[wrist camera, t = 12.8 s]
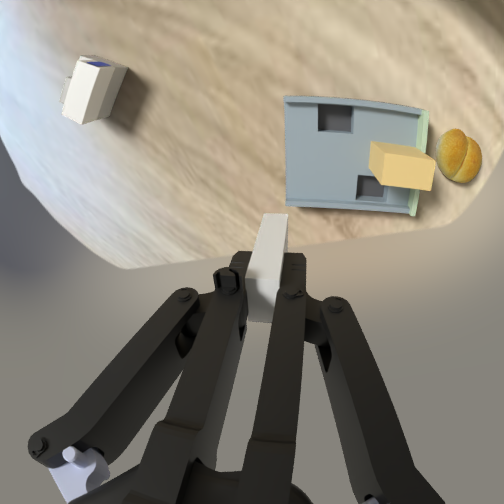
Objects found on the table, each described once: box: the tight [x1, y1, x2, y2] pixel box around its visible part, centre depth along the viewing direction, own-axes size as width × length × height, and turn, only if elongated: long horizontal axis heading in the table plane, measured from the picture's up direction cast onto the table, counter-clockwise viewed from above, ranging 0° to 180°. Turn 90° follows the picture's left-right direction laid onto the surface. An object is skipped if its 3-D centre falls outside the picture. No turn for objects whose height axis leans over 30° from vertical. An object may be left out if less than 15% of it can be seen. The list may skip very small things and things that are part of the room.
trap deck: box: [284, 96, 429, 216], centre depth 37 cm, size 20×16×4 cm
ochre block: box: [369, 141, 436, 191], centre depth 32 cm, size 7×4×8 cm, turn 92°
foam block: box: [59, 55, 128, 125], centre depth 34 cm, size 10×10×8 cm
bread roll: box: [436, 129, 482, 183], centre depth 33 cm, size 8×9×4 cm
